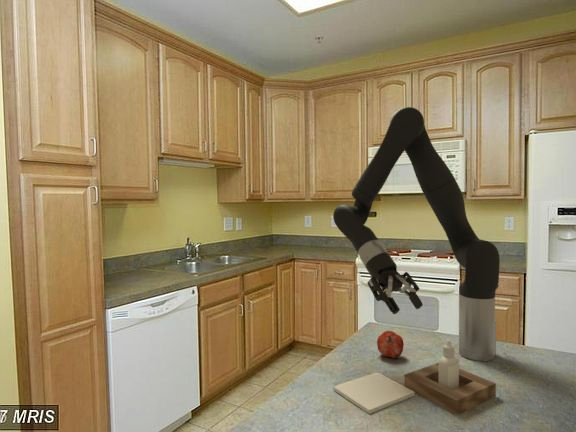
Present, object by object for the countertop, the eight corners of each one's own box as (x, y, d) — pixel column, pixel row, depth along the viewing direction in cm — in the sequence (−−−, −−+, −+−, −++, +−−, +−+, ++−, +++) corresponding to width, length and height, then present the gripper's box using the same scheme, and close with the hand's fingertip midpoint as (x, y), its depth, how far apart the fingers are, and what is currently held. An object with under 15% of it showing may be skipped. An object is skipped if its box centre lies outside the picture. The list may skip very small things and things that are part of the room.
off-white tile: (376, 375, 97) (376, 372, 97) (414, 395, 86) (414, 392, 86) (333, 389, 89) (333, 386, 89) (369, 413, 79) (369, 410, 79)
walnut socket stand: (442, 372, 98) (442, 361, 97) (495, 396, 86) (495, 383, 85) (404, 387, 90) (404, 374, 90) (457, 414, 78) (457, 400, 78)
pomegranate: (377, 358, 113) (370, 347, 105) (384, 334, 116) (377, 322, 109) (402, 366, 109) (396, 355, 102) (408, 342, 112) (403, 329, 105)
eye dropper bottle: (465, 395, 86) (465, 343, 86) (442, 397, 85) (443, 344, 85) (454, 386, 91) (454, 336, 90) (432, 388, 90) (432, 338, 89)
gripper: (364, 253, 101) (397, 306, 91) (401, 249, 108) (435, 298, 99) (351, 270, 105) (381, 322, 96) (387, 265, 113) (419, 313, 103)
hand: (408, 309), depth 97 cm, fingers open, 8 cm apart
